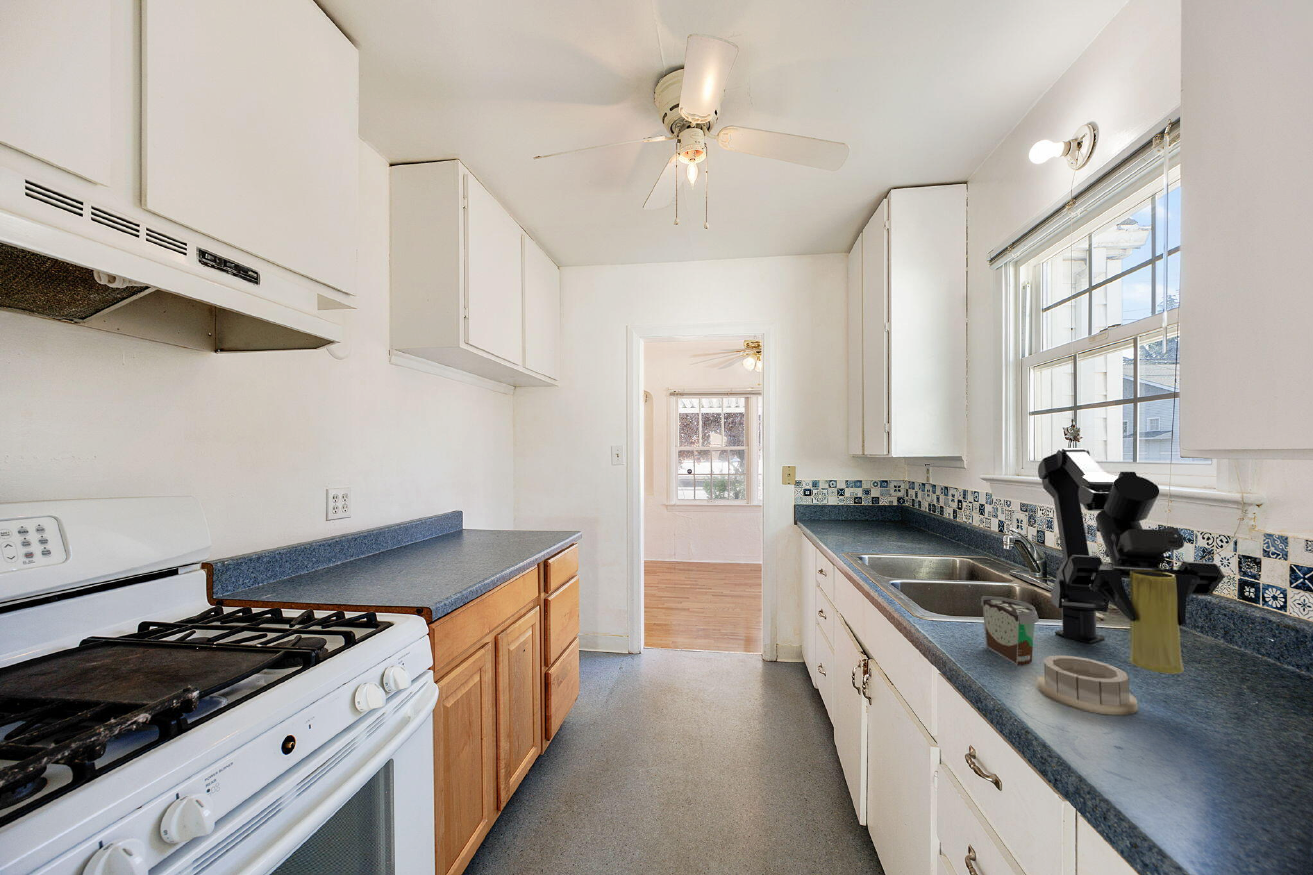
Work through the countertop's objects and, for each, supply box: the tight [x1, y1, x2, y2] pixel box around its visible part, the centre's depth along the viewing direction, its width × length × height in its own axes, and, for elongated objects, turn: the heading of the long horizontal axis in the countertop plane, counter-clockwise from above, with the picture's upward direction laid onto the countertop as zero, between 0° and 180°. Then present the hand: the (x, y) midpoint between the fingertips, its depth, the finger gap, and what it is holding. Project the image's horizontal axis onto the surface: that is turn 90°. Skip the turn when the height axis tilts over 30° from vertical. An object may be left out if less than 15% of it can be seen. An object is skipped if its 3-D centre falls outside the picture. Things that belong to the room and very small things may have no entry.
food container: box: [980, 595, 1040, 666], centre depth 101 cm, size 12×6×10 cm, turn 179°
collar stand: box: [1037, 655, 1138, 716], centre depth 84 cm, size 12×12×4 cm
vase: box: [1129, 570, 1185, 675], centre depth 81 cm, size 6×6×14 cm
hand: (1158, 622), depth 80 cm, fingers closed on vase, 5 cm apart
